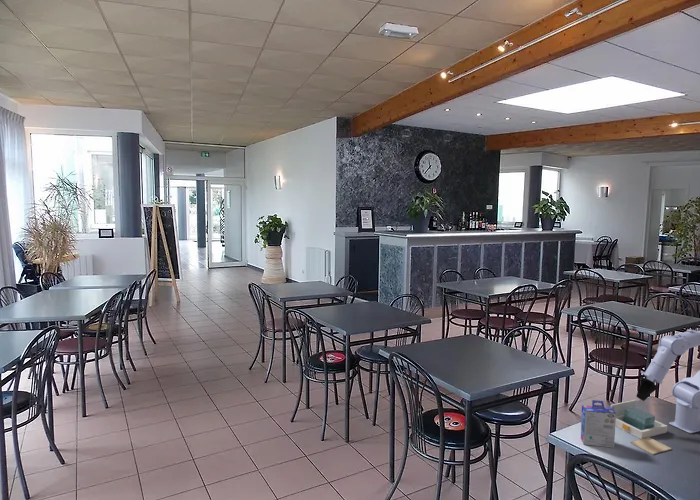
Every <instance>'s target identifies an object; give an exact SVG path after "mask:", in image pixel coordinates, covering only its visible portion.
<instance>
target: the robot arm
mask: <svg viewBox="0 0 700 500" xmlns="http://www.w3.org/2000/svg"><path fill="white" fill-rule="evenodd" d="M699 346H700V330H698V331H697V330H695V329H691V328H689V329H686V331H684V332H680V333H675V335H668V334H667V335H665V336H662V337H661V338H659V340H658V347H657V349H656V351H657V352H656V353H655V355H654V357H653V358H652V360H651V362H650V363H649V365H648V367H647V368H646V370H645V371H643V370H640V374H642V375H644V376H645V377H643V376H641V377H640V383H639V387H638V390H637V393H636V396H635V397H636V398H638V399H639V400H640V401H643V402H644V401H646V400H647V399H648V398H649V397H650V395H651V394H652V393H654V392H655V391H657V390H659V388H660V387H659V386H658V385H656V383H658V384H660V385H663V380H664V379H665V377H666V375H667V374H668V372H669V371H670V370H671V367H672V366H673V364H674V362H675V361H676V359H677V358H678V356H681V355H682V356H683V355H684V354H685V353H686V352H687V351H688V350H689V349H693V348H696V347H699ZM671 394H672V396H673V397H674V400H675V401H676V402H675V403H676V404H675V417H674V421H670V422H668V425H670V426H673V427H675V428H676V429H679V430H682V431H684V432H686V433H688V434H695V433H699V432H700V369H699V370H698V371H697V372H696V373H695V374H694V375H693V376H691V377H684V378H682V379H681V380H680V381H678V382H676V383H675V384H673V386H672V388H671Z"/></svg>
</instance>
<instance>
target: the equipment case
mask: <svg viewBox="0 0 700 500" xmlns="http://www.w3.org/2000/svg"><path fill="white" fill-rule="evenodd" d="M624 415H625V414H624ZM624 415H620V416H616V423H615V427H617V428H619V429H621V430H623V431H624V432H627V433H629V434H631V435H632V436H634V437H636V438H639V440H640V439H644V438H647V437H650V438H652V437H654V436H659V435H663V434H666V433H668V425H666V424H665V423H662V422H660V421H658V420H656V419H655V423H654V427H653V428H649V429H645V430H639V429H637V428H635V427H633V426H631V425H629V424H627V423H625V422H624Z"/></svg>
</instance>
